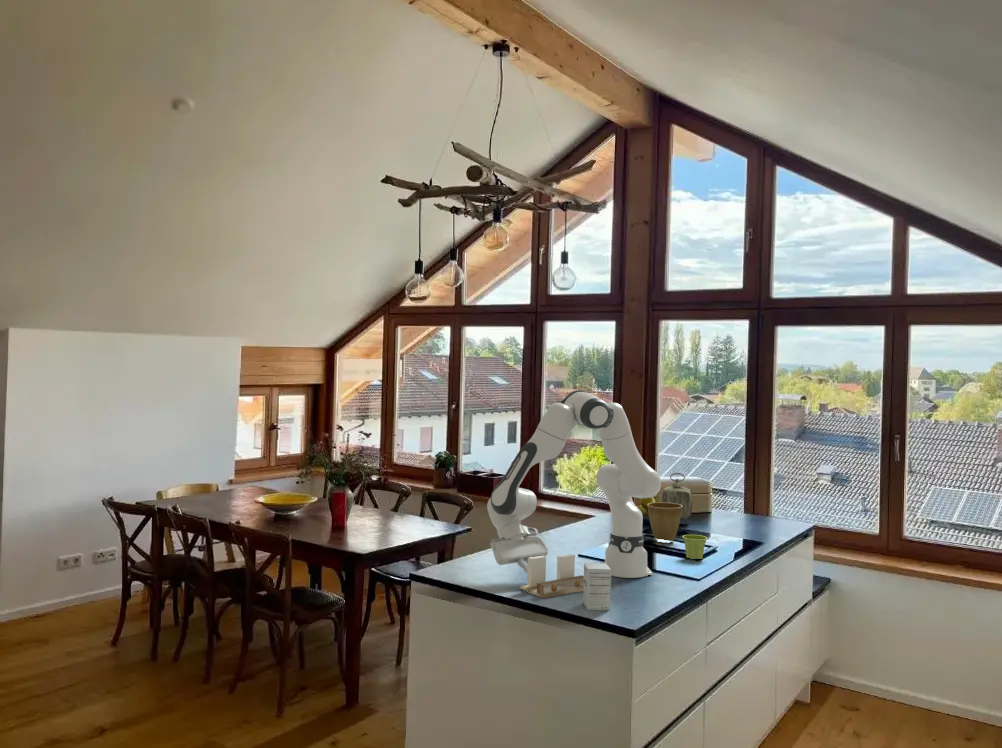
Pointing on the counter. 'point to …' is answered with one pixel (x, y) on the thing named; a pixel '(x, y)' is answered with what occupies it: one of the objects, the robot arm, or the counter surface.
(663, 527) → the plant pot
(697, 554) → the plant pot
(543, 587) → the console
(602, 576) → the supplement box
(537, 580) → the white rectangular block
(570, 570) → the block
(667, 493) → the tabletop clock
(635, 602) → the counter surface
